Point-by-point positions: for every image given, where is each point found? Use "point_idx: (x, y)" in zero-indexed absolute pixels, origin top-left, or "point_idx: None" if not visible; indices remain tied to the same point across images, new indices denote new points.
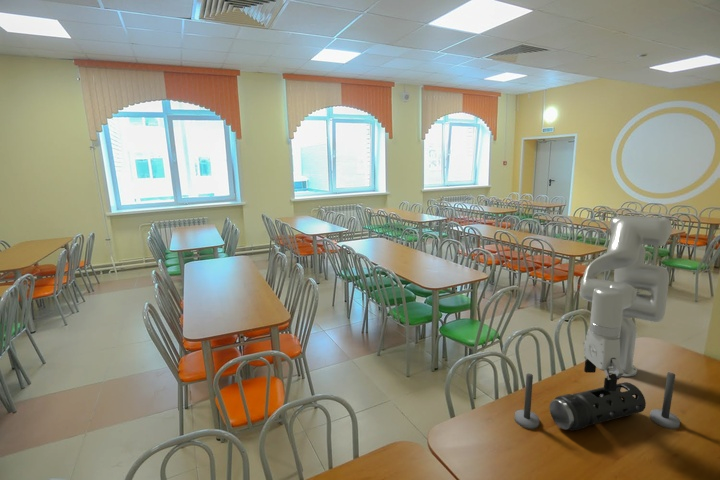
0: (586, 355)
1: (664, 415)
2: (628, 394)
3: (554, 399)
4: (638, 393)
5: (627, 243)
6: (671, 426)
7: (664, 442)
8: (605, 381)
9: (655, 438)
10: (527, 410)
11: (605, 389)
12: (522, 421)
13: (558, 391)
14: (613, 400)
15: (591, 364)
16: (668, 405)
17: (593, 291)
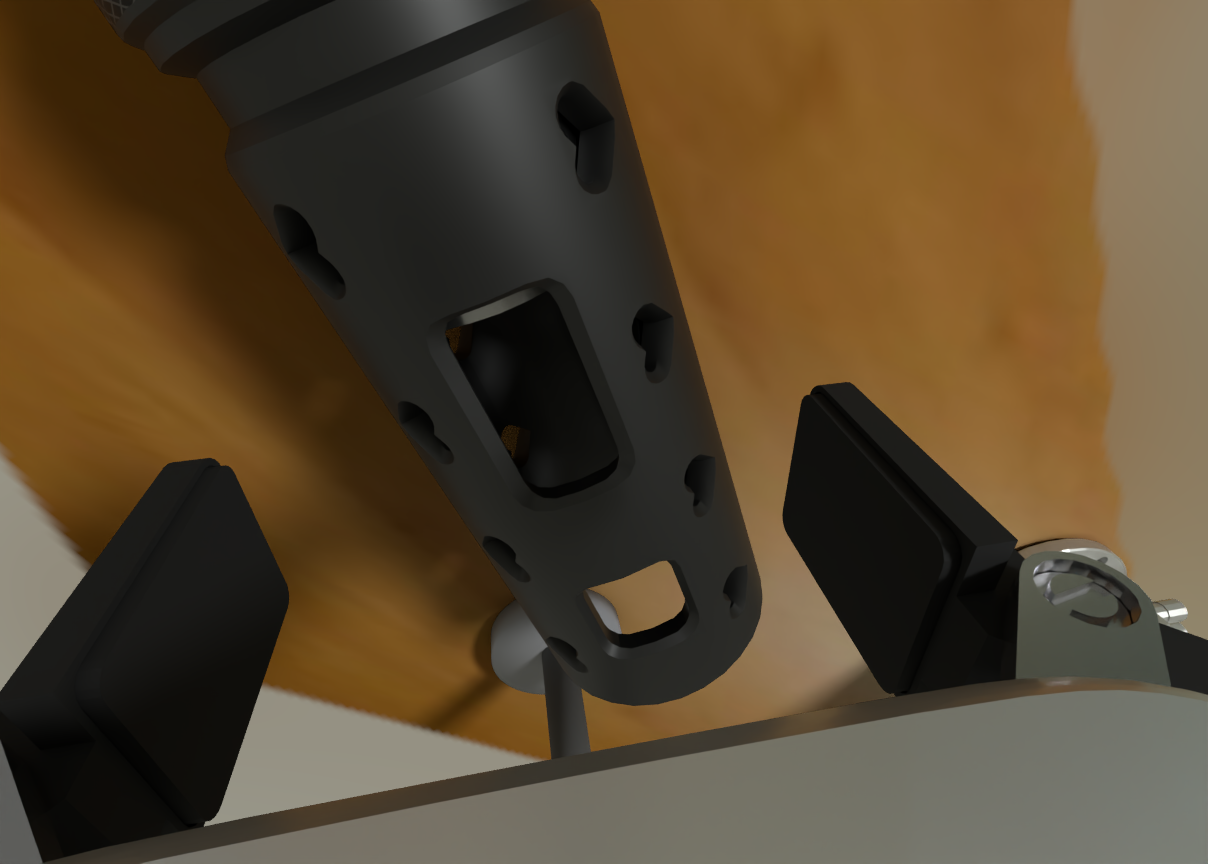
0: (1102, 814)
1: (547, 660)
2: (559, 623)
3: None
4: (589, 680)
5: None
6: (491, 644)
7: (354, 565)
8: (48, 625)
9: (381, 540)
10: None
11: (168, 488)
12: None
13: (928, 112)
14: (456, 479)
15: (877, 579)
16: (549, 735)
17: None
